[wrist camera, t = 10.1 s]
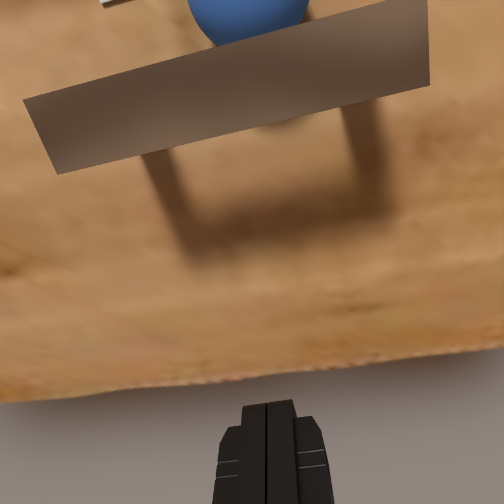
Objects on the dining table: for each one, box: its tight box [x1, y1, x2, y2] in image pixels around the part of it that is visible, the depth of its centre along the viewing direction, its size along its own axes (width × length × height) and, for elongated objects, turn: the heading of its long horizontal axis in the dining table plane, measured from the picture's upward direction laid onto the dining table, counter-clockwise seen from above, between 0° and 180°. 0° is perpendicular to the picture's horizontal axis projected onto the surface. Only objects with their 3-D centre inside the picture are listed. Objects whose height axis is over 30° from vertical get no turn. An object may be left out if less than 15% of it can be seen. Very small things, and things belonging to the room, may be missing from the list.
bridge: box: [23, 0, 430, 175], centre depth 19 cm, size 3×15×10 cm, turn 103°
